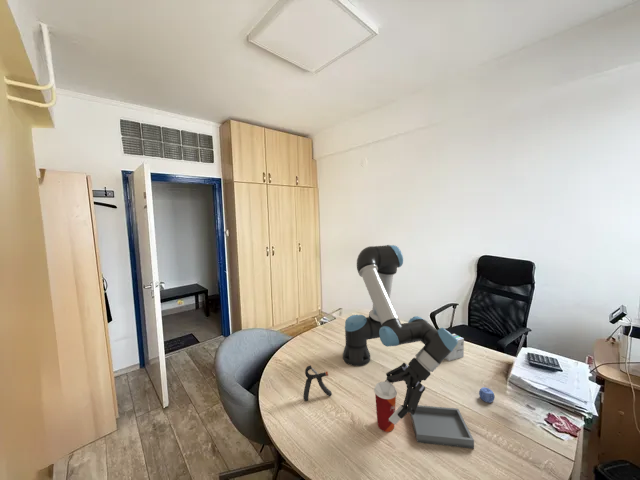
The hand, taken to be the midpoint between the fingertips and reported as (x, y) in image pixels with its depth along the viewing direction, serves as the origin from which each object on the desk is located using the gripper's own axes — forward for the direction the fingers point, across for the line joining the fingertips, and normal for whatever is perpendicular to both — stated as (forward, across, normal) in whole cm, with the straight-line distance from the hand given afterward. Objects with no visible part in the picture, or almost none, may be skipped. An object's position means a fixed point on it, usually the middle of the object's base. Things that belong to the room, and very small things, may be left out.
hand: (384, 407), depth 93 cm
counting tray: (-8, -4, -19) cm, 21 cm away
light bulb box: (-32, +40, -43) cm, 67 cm away
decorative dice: (-28, +8, -39) cm, 48 cm away
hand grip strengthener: (+22, +19, +11) cm, 31 cm away
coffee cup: (+5, +1, -6) cm, 8 cm away
